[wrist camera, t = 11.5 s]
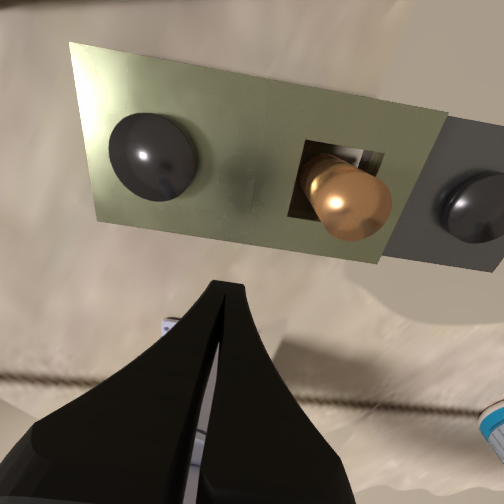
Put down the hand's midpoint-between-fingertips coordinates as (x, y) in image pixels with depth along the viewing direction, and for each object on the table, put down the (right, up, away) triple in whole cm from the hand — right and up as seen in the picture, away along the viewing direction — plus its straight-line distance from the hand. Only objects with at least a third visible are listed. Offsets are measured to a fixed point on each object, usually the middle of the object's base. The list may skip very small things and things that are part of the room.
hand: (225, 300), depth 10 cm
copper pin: (+6, +7, +7) cm, 11 cm away
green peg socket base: (+6, +7, +7) cm, 11 cm away
